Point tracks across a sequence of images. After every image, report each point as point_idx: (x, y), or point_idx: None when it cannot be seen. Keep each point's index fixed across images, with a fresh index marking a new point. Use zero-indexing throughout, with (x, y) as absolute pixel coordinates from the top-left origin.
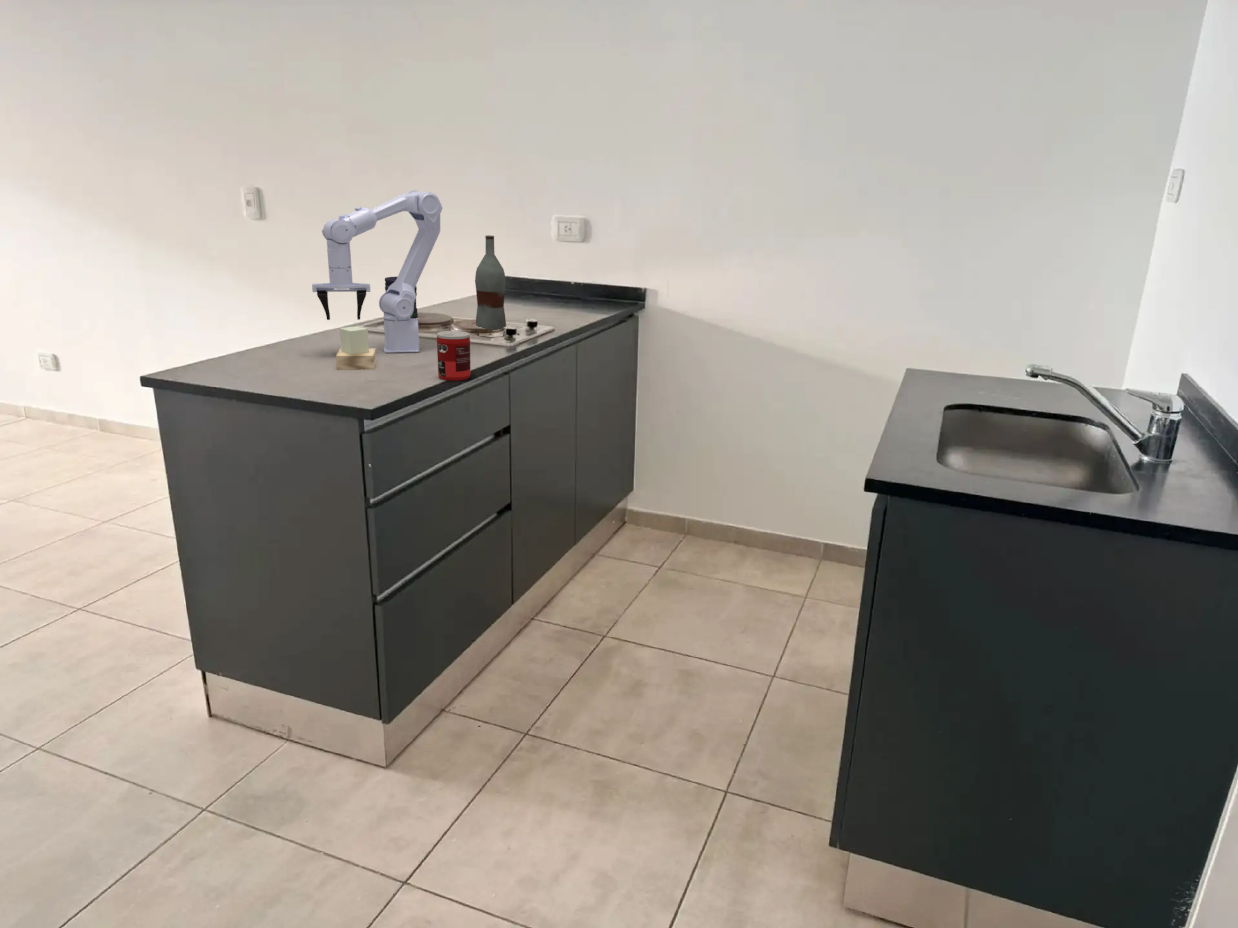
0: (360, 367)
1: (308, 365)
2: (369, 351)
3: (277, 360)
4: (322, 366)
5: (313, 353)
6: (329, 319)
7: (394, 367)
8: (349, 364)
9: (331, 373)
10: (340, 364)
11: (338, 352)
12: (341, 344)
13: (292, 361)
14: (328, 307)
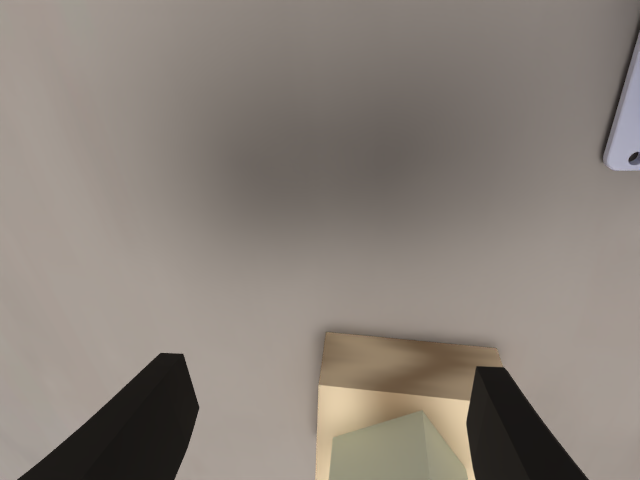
0: None
1: (199, 366)
2: (469, 454)
3: (34, 270)
4: (258, 387)
5: (144, 124)
6: (194, 412)
7: None
8: None
9: (306, 468)
10: None
11: (319, 449)
12: (331, 475)
13: (108, 296)
14: (113, 472)
